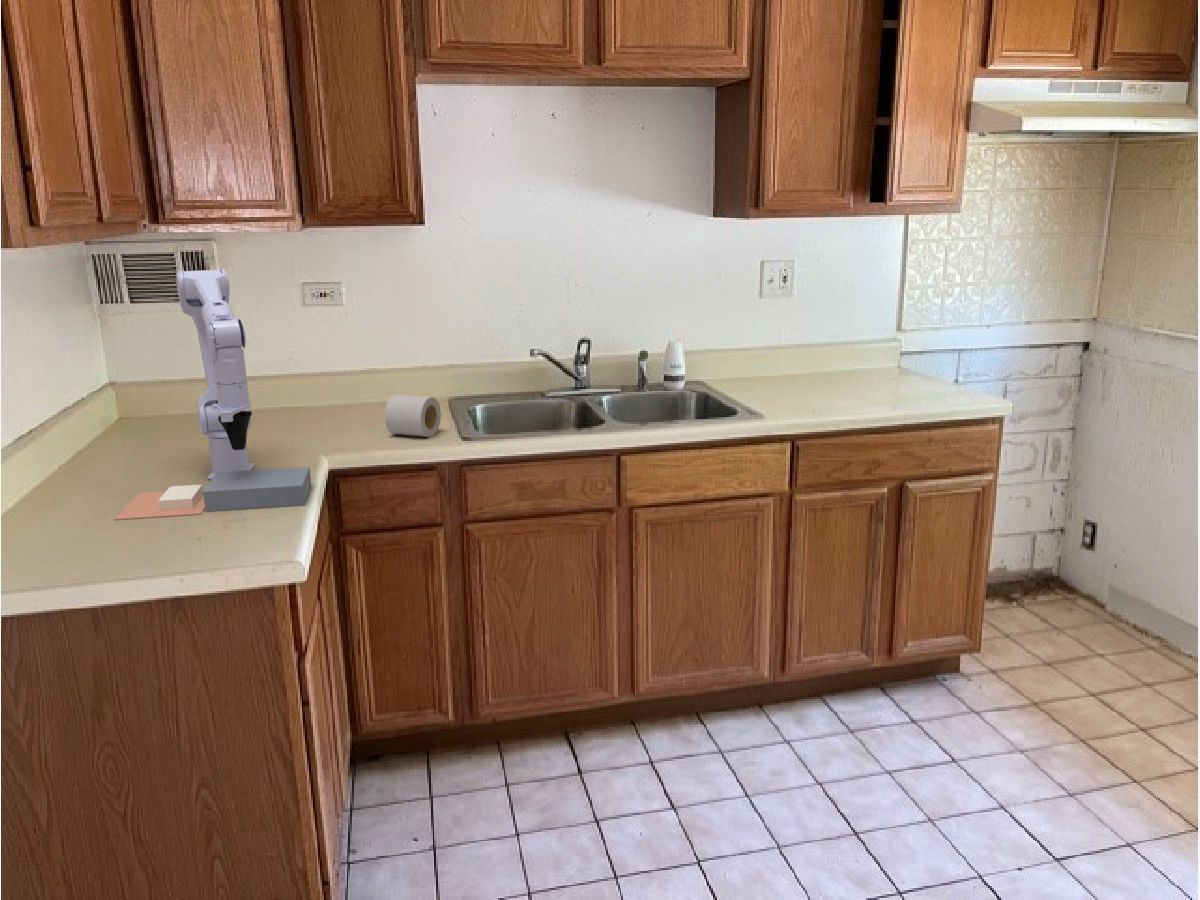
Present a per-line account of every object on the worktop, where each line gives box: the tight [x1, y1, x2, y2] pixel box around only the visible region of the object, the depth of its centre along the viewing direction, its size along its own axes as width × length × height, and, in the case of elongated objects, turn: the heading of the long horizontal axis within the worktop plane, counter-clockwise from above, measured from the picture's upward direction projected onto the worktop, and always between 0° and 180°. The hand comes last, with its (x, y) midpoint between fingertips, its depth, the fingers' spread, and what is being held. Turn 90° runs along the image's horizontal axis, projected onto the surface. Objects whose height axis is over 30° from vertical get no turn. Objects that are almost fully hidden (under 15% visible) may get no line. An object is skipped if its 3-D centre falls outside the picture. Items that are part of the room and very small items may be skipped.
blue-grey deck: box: [203, 466, 312, 513], centre depth 178 cm, size 13×18×4 cm
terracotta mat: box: [114, 488, 205, 521], centre depth 175 cm, size 16×15×1 cm
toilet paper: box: [384, 394, 442, 438], centre depth 225 cm, size 10×10×10 cm
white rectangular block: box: [158, 484, 204, 511], centre depth 175 cm, size 9×6×2 cm, turn 11°
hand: (239, 449), depth 178 cm, fingers closed
